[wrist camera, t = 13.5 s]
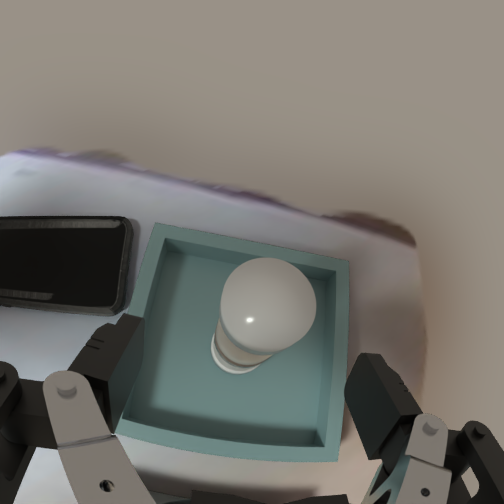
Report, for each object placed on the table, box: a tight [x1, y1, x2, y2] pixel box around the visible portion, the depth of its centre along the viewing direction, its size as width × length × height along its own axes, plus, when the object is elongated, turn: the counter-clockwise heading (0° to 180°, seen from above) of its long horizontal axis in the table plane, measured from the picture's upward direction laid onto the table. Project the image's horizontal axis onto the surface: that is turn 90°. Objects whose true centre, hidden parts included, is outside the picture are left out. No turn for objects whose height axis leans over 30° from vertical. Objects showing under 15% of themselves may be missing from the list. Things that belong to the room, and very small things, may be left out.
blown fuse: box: [211, 258, 316, 375], centre depth 15 cm, size 3×3×10 cm
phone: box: [0, 216, 133, 316], centre depth 20 cm, size 8×1×15 cm
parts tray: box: [115, 223, 349, 462], centre depth 19 cm, size 14×14×2 cm
